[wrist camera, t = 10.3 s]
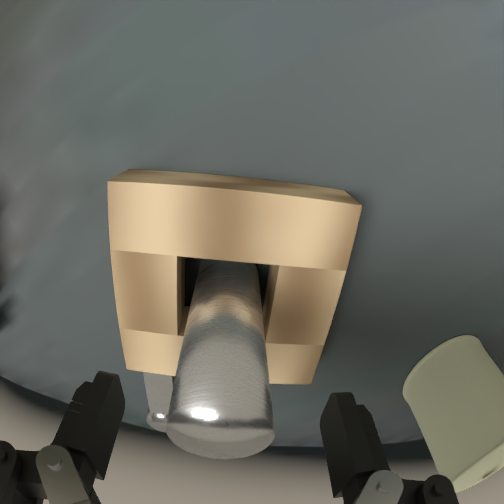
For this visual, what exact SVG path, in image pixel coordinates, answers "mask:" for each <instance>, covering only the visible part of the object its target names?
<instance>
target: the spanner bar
mask: <svg viewBox="0 0 504 504" xmlns="http://www.w3.org/2000/svg"><path fill="white" fill-rule="evenodd" d="M143 374H144V381H145V387H146V392H147V398H148V403H149V410H148V415H147V423H148V424H149V425H150V426H151V427H152V428H154V429H156V430H158V431H162V432H166V423H167V417H168V412H169V406H170V401H171V396H172V391H173V386H174V380H175V376H170V375H162V374H155V373H148V372H143Z"/></svg>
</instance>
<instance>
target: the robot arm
mask: <svg viewBox="0 0 504 504" xmlns="http://www.w3.org/2000/svg"><path fill="white" fill-rule="evenodd" d="M124 410H125V398H124V394H123V390H122V387H121V383H120V378H119V376H118V375H117V374H113V373H108V372H103V371H99V372H98V373H97V374H96V376H95V378H94V381H93V383H91V382H87V381H85V382H84V383H83V384H82V385H81V386H80V387H79V388H78V389H77V390H76V392H75V394H74V396H73V398H72V401H71V402H70V404H69V407H68V410H67V411H66V413H65V415H64V418H63V420H62V422H61V424H60V427H59V429H58V431H57V433H56V436H55V438H54V440H53V442H52V443H51V444H50V445H48V446H45V447H43V448H42V449H41V450H40V451H23V450H15V449H14V447H13V446H12V445H11V444H10V443H8V442H6V441H0V504H43V500H44V499H48V500H49V503H50V504H101V502H100V500H99V498H98V496H97V494H96V492H95V490H94V488H93V484H94V480H95V478H97V479H100V480H104V478H105V475H106V471H107V467H108V464H109V460H110V457H111V453H112V450H113V447H114V443H115V440H116V436H117V433H118V430H119V427H120V423H121V420H122V417H123V414H124ZM320 430H321V435H322V440H323V445H324V450H325V455H326V460H327V465H328V471H329V476H330V481H331V486H332V492H333V498H338V497H343V500H344V504H459V503H458V499H457V496H456V493H455V490H454V487H453V484H452V482H451V481H450V479H448V478H447V477H446V476H443V475H433V476H430V477H429V478H428V479H427V480H425V481H415V480H405V479H401V478H400V477H399V476H398V475H397V474H396V473H394V472H392V471H391V470H390V468H389V466H388V463H387V460H386V457H385V454H384V451H383V447H382V444H381V441H380V438H379V436H378V432H377V429H376V427H375V423H374V421H373V418H372V415H371V413H370V412H369V411H368V410H367V409H366V407H365V406H364V405H356V402H355V399H354V396H353V394H352V393H351V392H343V393H332V394H331V395H330V397H329V400H328V402H327V404H326V406H325V409H324V411H323V413H322V415H321V420H320Z"/></svg>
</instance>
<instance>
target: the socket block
mask: <svg viewBox="0 0 504 504" xmlns="http://www.w3.org/2000/svg"><path fill="white" fill-rule="evenodd" d="M361 209H362V205H361V204H360V203H359V202H357V201H356V200H355V199H354V198H353V197H351V196H350V195H349V194H348V193H347V192H345V191H344V190H340V189H333V188H326V187H319V186H312V185H305V184H297V183H289V182H281V181H273V180H264V179H255V178H245V177H235V176H224V175H213V174H201V173H187V172H172V171H154V170H132V169H128V170H126V171H125V172H123V173H121V174H119V175H118V176H116V177H114V178H112V179H111V180H109V181H108V216H109V235H110V250H111V262H112V272H113V282H114V291H115V299H116V307H117V314H118V321H119V327H120V334H121V340H122V346H123V351H124V357H125V362H126V367H127V369H129V370H135V371H142V372H148V373H155V374H162V375H170V376H175V375H176V370H177V366H178V361H179V356H180V351H181V346H182V342H183V337H184V332H185V328H186V323H187V319H188V314H189V310H190V306H185V261H186V257H192V258H203V259H214V260H225V261H236V262H247V263H259V264H270V268H269V275H268V281H267V287H266V293H265V300H264V306H263V312H262V315H263V324H264V334H265V344H266V353H267V363H268V373H269V382H270V384H311V382H312V379H313V376H314V373H315V371H316V368H317V365H318V362H319V359H320V356H321V353H322V350H323V347H324V344H325V341H326V338H327V335H328V331H329V328H330V325H331V322H332V319H333V315H334V312H335V309H336V305H337V302H338V299H339V295H340V292H341V288H342V285H343V281H344V277H345V274H346V270H347V266H348V262H349V259H350V255H351V251H352V247H353V243H354V239H355V235H356V231H357V226H358V222H359V218H360V213H361Z"/></svg>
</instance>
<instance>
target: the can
mask: <svg viewBox="0 0 504 504" xmlns="http://www.w3.org/2000/svg"><path fill="white" fill-rule="evenodd" d="M403 397H404V399H405V400H406V402H408V404H409V406H410V408H411V410H412V412H413V414H414V416H415V418H416V420H417V423H418V425H419V427H420V429H421V431H422V434H423V436H424V438H425V440H426V443H427V445H428V447H429V450H430V452H431V455H432V457H433V460H434V462H435V465H436V467H437V470H438V472H439V475H443V476H446V477H447V478H448V479H450V481H451V482H452V484H453V487H454V490H455V493H457V492H460V491H463V490H465V489H467V488H469V487H471V486H473V485H475V484H477V483H479V482H481V481H482V480H484V479H486V478H488V477H489V476H491V475H492V474H494V473H495V472H497V471H498V470H499V469H501V468H502V467H503V466H504V375H503V374H502V372H501V371H500V369H499V368H498V367H497V365H496V364H495V363H494V361H493V360H492V359H491V357H490V356H489V355H488V353H487V352H486V350H485V349H484V348H483V346H482V344H481V342H480V340H479V339H478V338H476V337H475V336H472V335H462V336H457V337H454V338H452V339H449V340H447V341H445V342H443V343H442V344H440V345H438V346H437V347H435V348H434V349H433V350H431V351H430V352H429V353H427V354H426V355H425V356H424V357H423V358H422V359H421V360H420V361H419V362H418V363H417V364H416V365H415V366H414V368H413V369H412V370H411V372H410V373H409V375H408V376H407V378H406V380H405V383H404V386H403Z"/></svg>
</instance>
